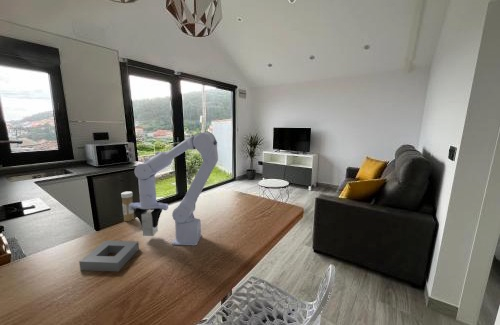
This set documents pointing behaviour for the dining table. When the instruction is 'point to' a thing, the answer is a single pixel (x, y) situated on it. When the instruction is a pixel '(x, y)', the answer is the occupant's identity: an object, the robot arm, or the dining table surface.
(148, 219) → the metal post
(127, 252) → the frame
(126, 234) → the dining table surface
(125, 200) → the sprinkles bottle
